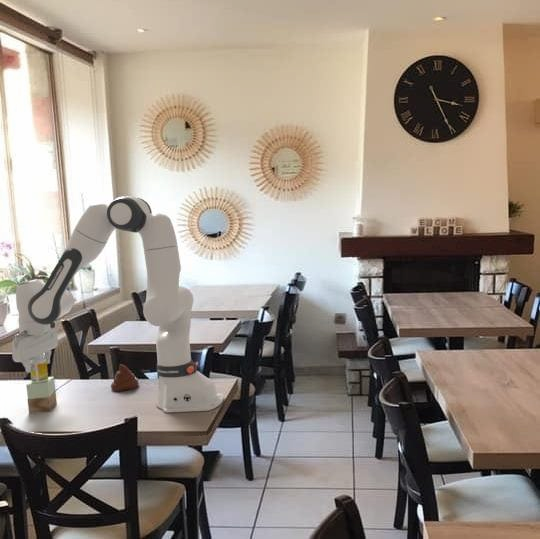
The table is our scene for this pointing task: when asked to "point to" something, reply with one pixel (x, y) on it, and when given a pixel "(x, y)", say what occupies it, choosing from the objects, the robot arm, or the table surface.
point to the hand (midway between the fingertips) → (38, 367)
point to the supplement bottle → (39, 369)
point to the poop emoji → (124, 379)
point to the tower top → (41, 389)
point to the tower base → (42, 404)
